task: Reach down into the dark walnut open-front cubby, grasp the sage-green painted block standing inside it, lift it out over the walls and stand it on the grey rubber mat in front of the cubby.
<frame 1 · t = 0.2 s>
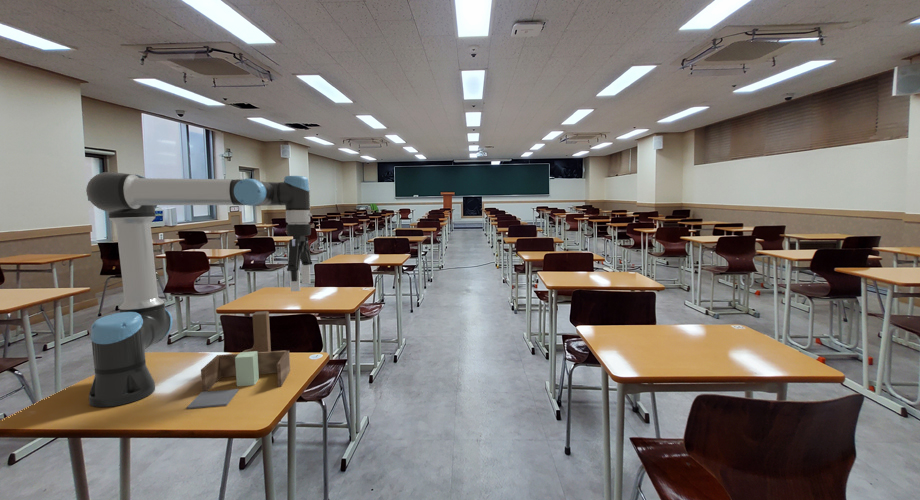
hand: (301, 287, 144), 28 cm above the table, fingers open, 13 cm apart
mat: (213, 399, 123), on the table
cubby: (249, 381, 135), on the table
block: (248, 382, 134), on the table
wooden block: (256, 364, 151), on the table
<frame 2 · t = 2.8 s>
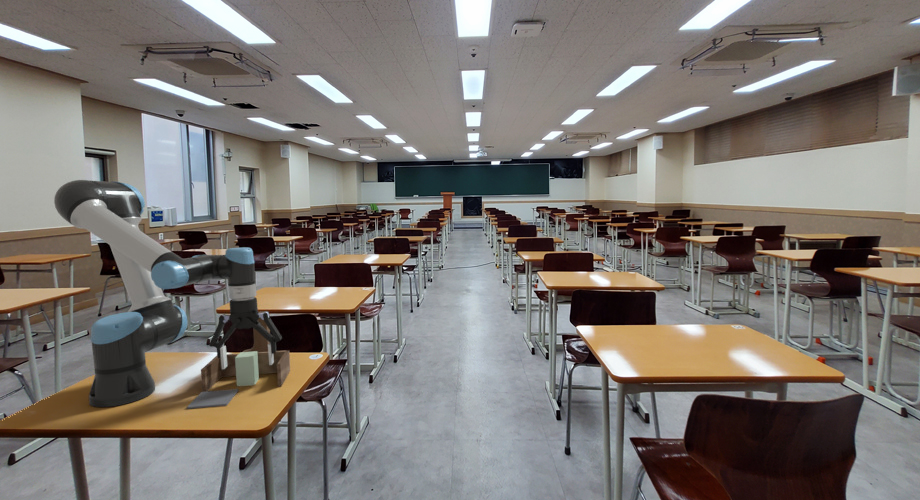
hand: (248, 365, 134), 5 cm above the table, fingers open, 13 cm apart
nothing on the table moved.
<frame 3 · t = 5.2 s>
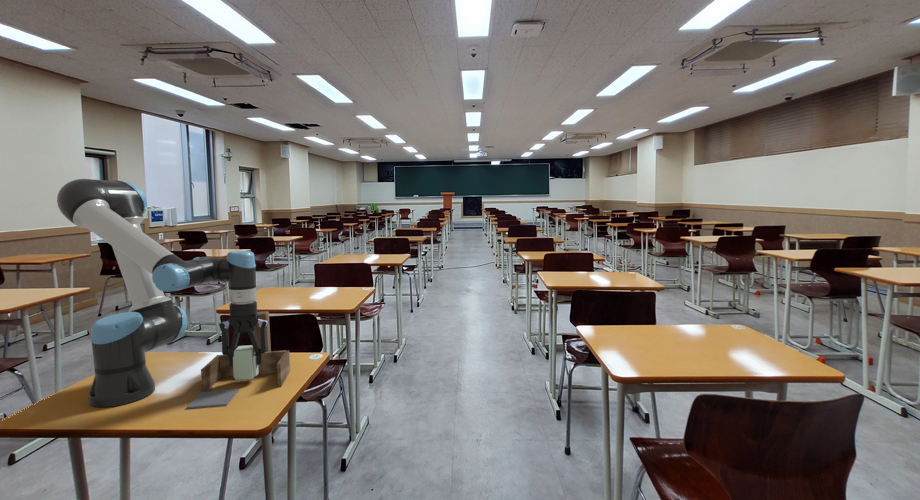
hand: (246, 375, 134), 2 cm above the table, fingers closed on block, 5 cm apart
block: (246, 376, 134), point 2 cm above the table, touching gripper
everything else where it was.
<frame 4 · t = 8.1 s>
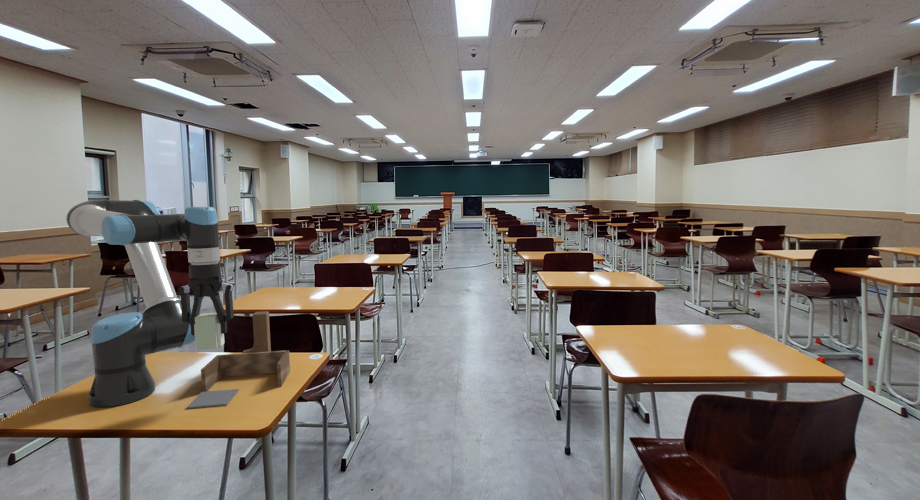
hand: (210, 345, 121), 16 cm above the table, fingers closed on block, 5 cm apart
block: (210, 346, 121), point 15 cm above the table, touching gripper
everything else where it was.
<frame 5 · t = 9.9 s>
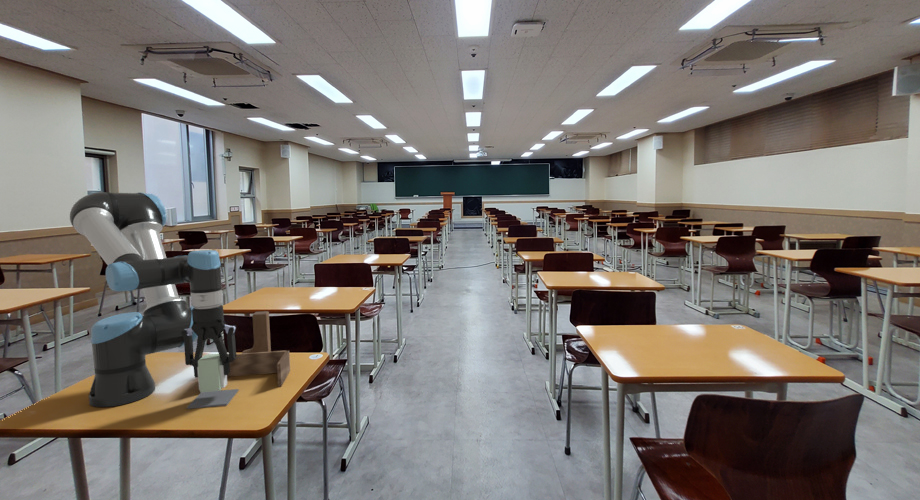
hand: (213, 386, 122), 4 cm above the table, fingers closed on block, 5 cm apart
block: (213, 387, 122), point 3 cm above the table, touching gripper
everything else where it was.
when the fingers open (1 cm above the table, at t = 11.2 s): block stays where it is, resting on mat.
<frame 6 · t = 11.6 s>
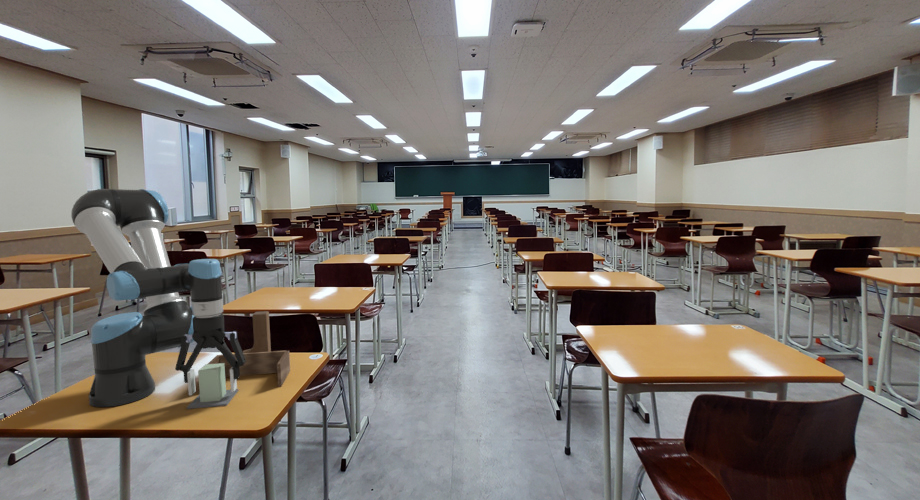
hand: (213, 391, 122), 2 cm above the table, fingers open, 10 cm apart
block: (213, 397, 122), resting on mat
everything else where it was.
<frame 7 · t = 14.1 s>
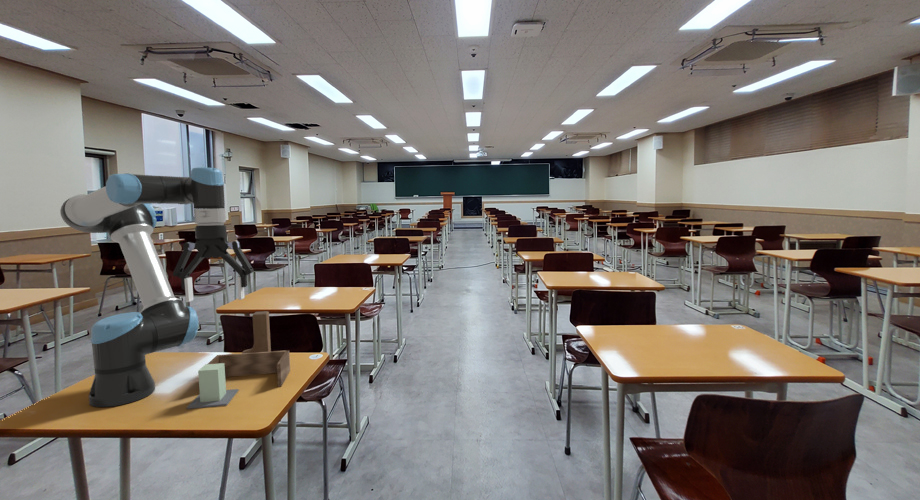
hand: (216, 300, 121), 28 cm above the table, fingers open, 13 cm apart
nothing on the table moved.
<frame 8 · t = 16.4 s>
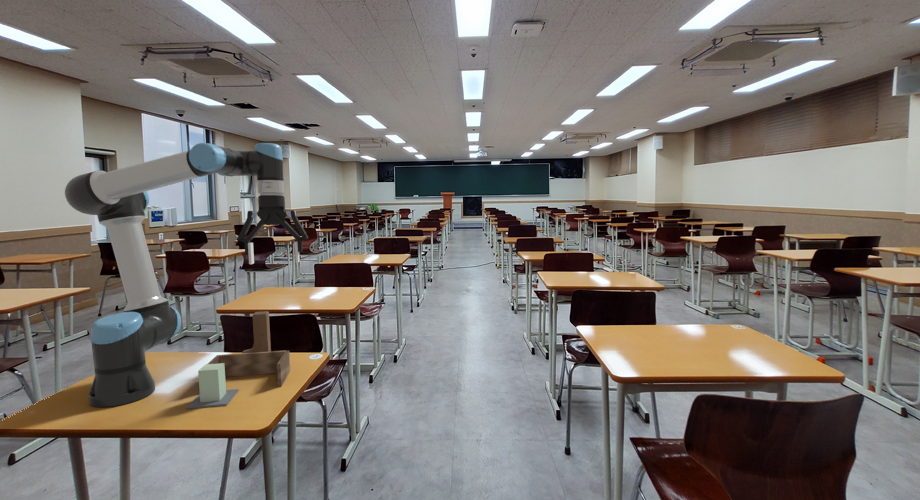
hand: (274, 263, 135), 37 cm above the table, fingers open, 13 cm apart
nothing on the table moved.
at the end: block inside the target area on the mat (0.0 cm from its centre), point 0.5 cm above the mat's base; block tilted 0°; the gripper is holding nothing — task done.
